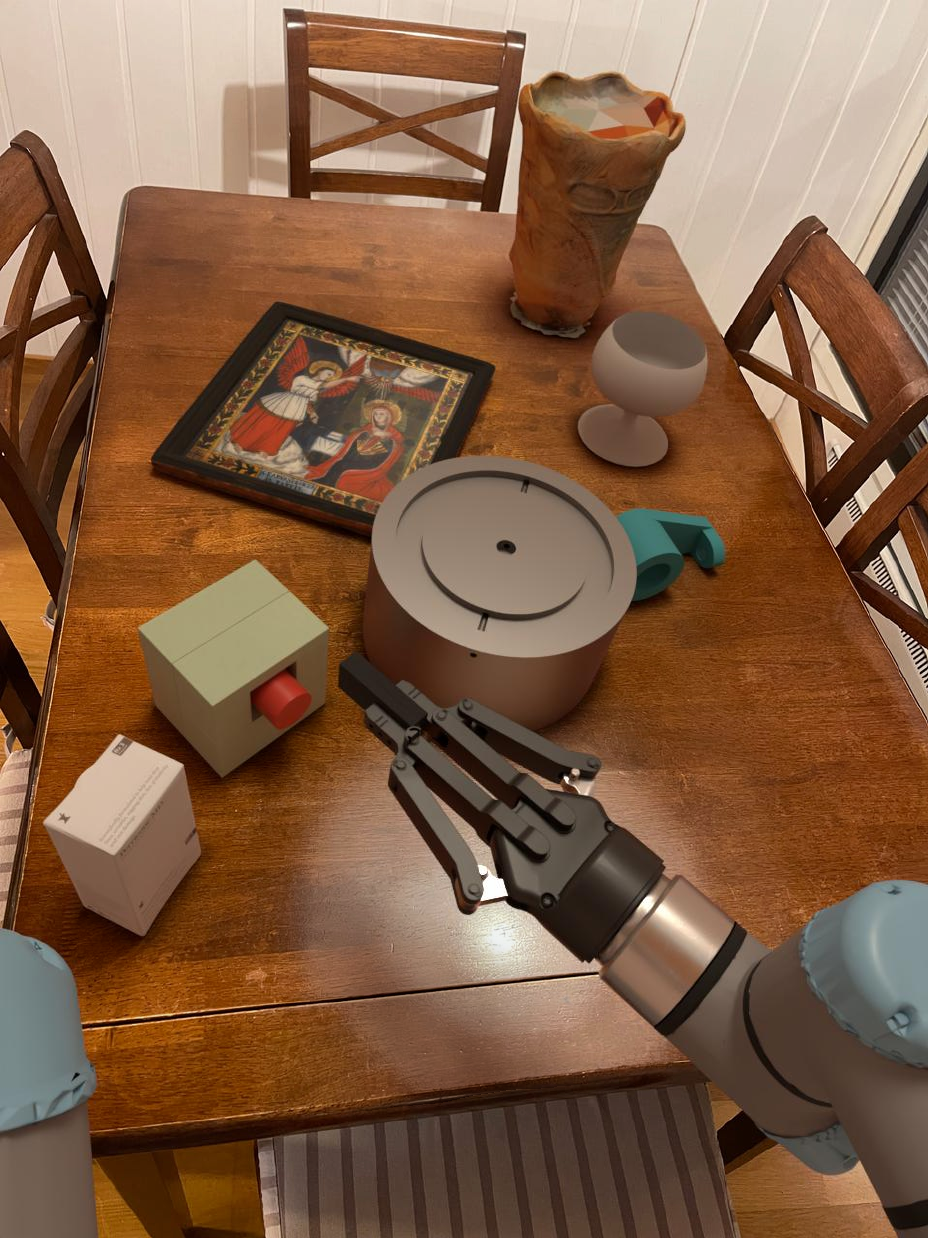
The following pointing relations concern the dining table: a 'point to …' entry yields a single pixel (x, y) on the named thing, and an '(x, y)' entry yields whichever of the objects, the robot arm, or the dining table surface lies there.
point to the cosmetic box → (127, 833)
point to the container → (496, 586)
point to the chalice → (642, 385)
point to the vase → (582, 190)
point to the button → (281, 700)
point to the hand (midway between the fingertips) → (347, 669)
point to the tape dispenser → (668, 546)
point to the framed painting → (324, 416)
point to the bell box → (232, 662)
